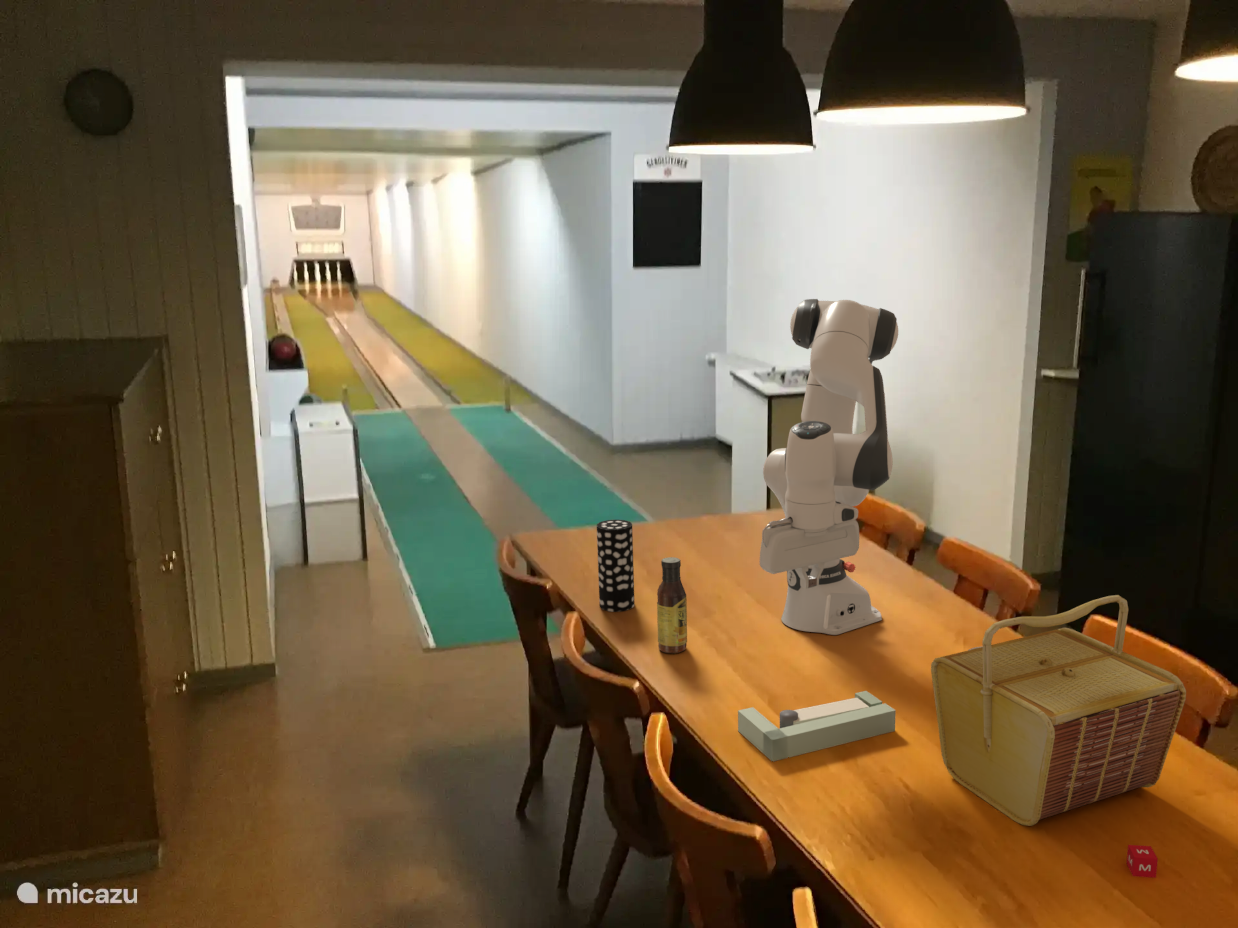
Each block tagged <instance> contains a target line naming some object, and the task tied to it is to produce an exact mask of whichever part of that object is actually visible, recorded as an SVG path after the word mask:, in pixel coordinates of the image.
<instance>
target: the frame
mask: <svg viewBox="0 0 1238 928" xmlns="http://www.w3.org/2000/svg"><path fill="white" fill-rule="evenodd" d="M854 698H858V699H860V700H861V701H862V702H864V703H865V704H866V705H868V706H869V707H868V708H864V709H859V710H855V711H851V712H847V713H843V714H838V715H834V716H830V717H826V718H822V719H817V720H813V721H809V722H805V723H801V724H796V725H792V726H788V727H784V728H780V727H777V726H776V725H775V724H774V723H773V722H771V720H769V719H767V717H765V716H764V715H763V714H762V713H760V712H759V711H758V710H757V709H756V708H755V707H754V706H752V707H748V708H743V709H739V710H737V731H738V732H739V733H740V734H741V735H742V736H743V737H744V738H745V739H746V740H747V741H749V742H750V744H752V745H753V746H754V747H755V748H757V749H758V750H759V751H760V752H761V753H762V754H763V755H764V756H765V757H766V758H768V759H769V761H770V762H772V761H773V762H776V761H780V760H785V759H789V758H792V757H797V756H800V755H804V754H807V753H811V752H816V751H821V750H824V749H828V748H832V747H836V746H839V745H844V744H847V743H848V744H849V743H852V742H857V741H861V740H863V739H868V738H871V737H876V736H881V735H884V734H889V733H892V732H895V731H896V716H897V715H896V709H895V708H893V707H891V706H890V705H888V704H887V703H886V702H885V703H883V701H882V700H881V699H879V698H878V697H876V696H875V695H873V694H872V693H870V692H868V691H867V690H864V691H860V692H855V693H854ZM788 757H789V758H788Z"/></svg>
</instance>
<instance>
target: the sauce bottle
mask: <svg viewBox="0 0 1238 928" xmlns="http://www.w3.org/2000/svg"><path fill="white" fill-rule="evenodd" d="M660 563H661V564H660V565H661V569H662V570H661V571H662V572H661V573H662V576H661V579H662V581H661V583H660V584H659V586H658V588H657V591H656V592H657V594H656V595H657V601H656V611H657V613H656V615H657V616H656V617H657V642H658V645H657V646H658V649H659V650H660V651H661V652H662V653H665V654H678V653H682V652H684V651H685V650H686V649H687V646H688V645H687V643H688V618H687V617H688V616H687V615H688V610H687V606H688V605H687V593H686V591H685V588H684V585H683V583H682V579H681V566H682V565H681V564H682V563H681V559H680V558H678V557H675V556H674V557H672V556H671V557H670V556H669V557H664V558H662V559H661V561H660Z"/></svg>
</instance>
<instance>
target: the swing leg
mask: <svg viewBox="0 0 1238 928" xmlns="http://www.w3.org/2000/svg"><path fill="white" fill-rule="evenodd" d="M868 707H869V706H868V705H866V704H865V703H864V702H862V701H861V700H860V699H858V698H855V697H853V698H847V699H843V700H839V701H838V700H837V701H832V702H828V703H824V704H819V705H818V704H817V705H813V706H809V707H803V708H799V709H794V710H793V709H785V710H781V711H780V712H779V729H780V728H784V727H788V726H792V725H796V724H801V723H805V722H809V721H813V720H817V719H822V718H826V717H830V716H834V715H838V714H843V713H847V712H851V711H855V710H859V709H864V708H868Z"/></svg>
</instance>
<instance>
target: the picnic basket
mask: <svg viewBox="0 0 1238 928" xmlns="http://www.w3.org/2000/svg"><path fill="white" fill-rule="evenodd" d="M1110 603H1117V604H1118V605H1119V611H1118V619H1117V625H1116V631H1115V639H1114V645H1113V646H1114V647H1113V646H1112V645H1110V644H1107V643H1105V642H1102V641H1100V640H1099V639H1098V640H1097V639H1095V638H1094V637H1090V636H1089V635H1086V634H1084V633H1082V632H1079V631H1076V630H1075V629H1073V628H1068V627H1062V628H1056V629H1052V630H1049V631H1044V632H1040V633H1037V634H1032V635H1027V636H1023V637H1019V638H1016V639H1011V640H1008V641H1003V642H998V643H995V644H992V640H993V637H994V635H995V634H996V633H997V632H998V631H999V630H1000V629H1004V628H1006V627H1012V626H1017V625H1025V626H1028V627H1032V628H1051V627H1056V626H1061V625H1065V624H1068V623H1071V622H1074V621H1076V620H1079V619H1080V618H1083V617H1084V616H1087V615H1088V614H1090V613H1091V612H1092V611H1093V610H1094V609H1096V608H1097V607H1099V606H1100V607H1101V606H1104V605H1106V604H1107V605H1108V604H1110ZM1128 614H1129V606H1128V601H1127V599H1125V598H1124V597H1122V596H1120V595H1119V594H1115V595H1108V596H1107V595H1106V596H1104V597H1100V598H1099V597H1098V598H1097V599H1092V600H1090V601H1087V602H1085V603H1083V604H1080V605H1078V606H1076V607H1074V608H1071V609H1070V610H1067V611H1064V612H1061V613H1057V614H1052V615H1046V616H1017V617H1012V618H1007V619H1002V620H1000V621H997V622H993V624H991V625H989V627H988V628H987V629H986V630H985V631H984V633H983V638H982V642H981V643H982V645H981V646H980V647H981V648H977V649H972V650H969V649H968V650H965V651H962V652H957V653H952V654H948V655H943V656H939V657H935V658H934V659H933V660H932V662H931V665H930V672H931V679H932V680H931V681H932V688H933V697H934V704H935V705H934V706H935V712H936V720H937V727H938V728H937V729H938V734H939V735H938V736H939V744H940V751H941V756H942V757H941V758H942V760H943V761H942V762H943V764H944V766H945V768H946V770H947V772H948V773H949V775H951V776H952V778H953V779H954V780H955V781H956V782H957V783H959V784H960V785H961V786H962V787H965V789H967V790H968V791H970V792H972V793H973V794H974V795H976V796H978V797H979V798H980V799H982V800H983V801H984V802H986V803H988V804H989V805H991V806H992V807H994V808H995V809H996V810H998V812H1000V813H1002V814H1004V815H1005V816H1006V817H1007V818H1009V819H1011V820H1013V821H1014V822H1016V823H1018V824H1019V825H1021V826H1029V827H1033V826H1034V825H1037V823H1038V822H1039V821H1040V820H1043V819H1046V818H1048V817H1052V816H1055V815H1058V814H1061V813H1065V812H1068V811H1071V810H1074V809H1077V808H1079V807H1080V808H1081V807H1083V806H1086V805H1088V804H1092V803H1096V802H1097V801H1102V800H1104V799H1107V798H1110V797H1111V798H1112V797H1113V796H1117V795H1119V794H1123V793H1126V792H1129V791H1132V790H1136V789H1138V788H1150V787H1153V786H1154V785H1156V783H1157V782H1158V781H1159V779H1160V777H1161V774H1162V770H1163V768H1164V765H1165V762H1166V760H1167V757H1168V756H1167V755H1168V753H1169V750H1170V747H1171V745H1172V741H1173V737H1174V735H1175V732H1176V729H1177V725H1178V723H1179V721H1180V717H1181V714H1182V711H1183V708H1184V706H1185V702H1186V697H1187V690H1186V688H1185V686H1184V685H1185V684H1184V683H1183V681H1181V679H1180V678H1179V676H1177V675H1175V674H1173V673H1172V672H1171V671H1168V670H1166V669H1164V668H1162V667H1159V666H1158V665H1155V664H1153V663H1151V662H1148V661H1146V660H1143V659H1141V658H1138V657H1137V656H1134V655H1132V654H1129V653H1127V652H1125V651H1123V649H1124V642H1125V641H1124V640H1125V636H1126V629H1127V622H1128ZM982 646H983V647H982Z"/></svg>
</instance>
